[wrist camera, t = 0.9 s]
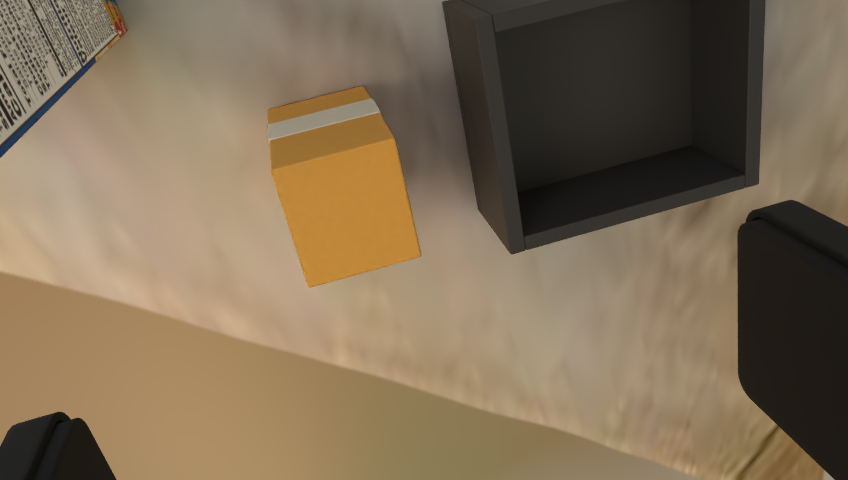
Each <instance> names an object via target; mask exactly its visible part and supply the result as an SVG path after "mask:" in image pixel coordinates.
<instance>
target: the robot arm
mask: <svg viewBox="0 0 848 480" xmlns="http://www.w3.org/2000/svg"><path fill="white" fill-rule="evenodd" d="M738 375H739V380H740V383H741V385H742V388H743V390H744V391H745V393H746V394H747V396H748V397H749V398H750V399H751V400H752V401H753V402H754V403H755V404H756V405H757V406H758V407H759V408H760V409H761V410H763V411H764V412H765V413H766V414H767V415H768V416H769V417H770V418H771V419H772V420H773V421H774V422H775V423H776V424H777V425H778V426H779V427H780V428H781V429H782V430H783V431H784V432H785V433H787V434H788V435H789V436H790V437H791V438H792V439H793V440H794V441H795V442H796V443H797V444H798V445H799V446H800V447H801V448H802V449H803V450H804V451H805V452H806V453H807V454H808V455H810V456H811V457H812V458H813V459H814V460H815V461H816V462H817V463H818V464H819V465H820V466H821V467H822V468H823V469H824V470H825V471H826V472H827V473H828V474H829V475H830V476H832V477H833V478H834V479H835V480H848V227H847V226H845V225H843V224H841V223H839V222H837V221H835V220H833V219H831V218H829V217H827V216H825V215H823V214H821V213H819V212H817V211H815V210H813V209H811V208H809V207H807V206H805V205H803V204H801V203H799V202H797V201H794V200H788V201H784V202H781V203H777V204H774V205H770V206H767V207H763V208H760V209H756V210H753V211H752V212H750V213H749V214H748V217H747V219H746V223H744V224H742V225H741V226H740V228H739V230H738ZM0 480H116V478H115V476H114V474H113V473H112V470H111V469H110V467H109V465H108V463H107V461H106V459H105V457H104V456H103V454H102V452H101V450H100V448H99V447H98V444H97V443H96V441H95V439H94V437H93V435H92V433H91V431H90V430H89V428H88V426H87V424H86V423H85V422H84V421H83V420H82V419H81V418H75V419H72V420H71V419H70V418H69V417H68V416H67V415H66V414H65V413H63V412H56V413H53V414H50V415H46V416H42V417H39V418H35V419H32V420H28V421H25V422H22V423H18V424H16V425H13V426H12V427H11V428H10V429H9V431H8V432H7V434H6V436H5V438H4V440H3V442H2V444H1V446H0Z"/></svg>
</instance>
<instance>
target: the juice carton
mask: <svg viewBox="0 0 848 480" xmlns="http://www.w3.org/2000/svg"><path fill="white" fill-rule="evenodd" d="M267 133H268V143H269V146H270V160H271V173H272V176H273V179H274V182H275V185H276V188H277V191H278V194H279V198H280V201H281V204H282V207H283V210H284V213H285V216H286V219H287V222H288V226H289V229H290V232H291V235H292V238H293V241H294V244H295V247H296V250H297V254H298V257H299V260H300V263H301V266H302V269H303V272H304V275H305V278H306V282H307V285H308V287H314V286H317V285H321V284H325V283H328V282H332V281H335V280H339V279H342V278H346V277H350V276H353V275H357V274H360V273H364V272H367V271H371V270H374V269H378V268H382V267H385V266H389V265H392V264H396V263H399V262H403V261H407V260H410V259H414V258H417V257H420V256H421V251H420V246H419V242H418V238H417V233H416V229H415V224H414V220H413V215H412V211H411V206H410V202H409V198H408V193H407V189H406V184H405V180H404V175H403V171H402V166H401V162H400V158H399V153H398V149H397V144H396V140H395V138H394V136H393V134H392V133H391V131H390V129H389V128H388V126H387V124H386V123H385V121H384V119H383V118H382V114H381V111H380V110H379V108H378V106H377V105H376V103H375V101H374V100H373V98H371V97H370V96H369V94H368V92H367V90H366V89H365V87H364V86H360V87H356V88H352V89H348V90H344V91H340V92H336V93H332V94H328V95H324V96H320V97H316V98H312V99H308V100H304V101H300V102H296V103H292V104H288V105H284V106H280V107H277V108H273V109H269V110H268V125H267Z"/></svg>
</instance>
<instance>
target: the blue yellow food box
mask: <svg viewBox="0 0 848 480" xmlns="http://www.w3.org/2000/svg"><path fill="white" fill-rule="evenodd" d="M127 30H128V28H127V26H126V24H125V22H124V19H123V17H122V15H121V13H120V10H119V8H118V6H117V4H116V1H115V0H0V158H1V157H2V156H3V155H4V154H5V153H6V152H7V151H8V150H9V149H10V148H11V147H12V146H13V145H14V144H15V143H16V142H17V141H18V140H19V139H20V138H21V137H22V136H23V135H24V134H25V133H26V132H27V131H28V130H29V129H30V128H31V127H32V126H33V125H34V124H35V123H36V122H37V121H38V120H39V119H40V118H41V117H42V116H43V115H44V114H45V113H46V112H47V111H48V110H49V109H50V108H51V107H52V106H53V105H54V104H55V103H56V102H57V101H58V100H59V99H60V98H61V97H62V96H63V95H64V94H65V93H66V92H67V91H68V90H69V89H70V88H71V87H72V86H73V85H74V84H75V83H76V82H77V81H78V80H79V79H80V78H81V77H82V76H83V75H84V74H85V73H86V72H87V71H88V70H89V69H90V68H91V67H92V66H93V65H94V64H95V63H96V61H97V60H98V59H99V58H100V57H101V56H102V55H103V54H104V53H105V52H106V51H107V50H108V49H109V48H110V47H111V46H112V45H113V44H114V43H115V42H116V41H117V40H118V39H119V38H120V37H121V36H122V35H123V34H124V33H125V32H126V31H127Z"/></svg>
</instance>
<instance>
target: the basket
mask: <svg viewBox="0 0 848 480" xmlns="http://www.w3.org/2000/svg"><path fill="white" fill-rule="evenodd" d="M442 4H443V10H444V16H445V22H446V27H447V33H448V39H449V45H450V50H451V56H452V62H453V67H454V73H455V79H456V85H457V90H458V96H459V102H460V108H461V113H462V119H463V125H464V130H465V136H466V142H467V148H468V153H469V159H470V165H471V171H472V176H473V182H474V188H475V194H476V199H477V205H478V210H479V211H480V213H481V214H482V215H483V217H484V218H485V219H486V221H487V222H488V223H489V225H490V226H491V228H492V229H493V230H494V232H495V233H496V234H497V236H498V237H499V239H500V240H501V241H502V243H503V244H504V245H505V247H506V248H507V250H508V251H509V252H510V254H515V253H519V252H522V251H525V249H526V250H528V249H532V248H536V247H539V246H543V245H546V244H550V243H553V242H557V241H560V240H564V239H567V238H571V237H574V236H578V235H581V234H585V233H588V232H592V231H595V230H599V229H602V228H606V227H609V226H613V225H616V224H620V223H623V222H627V221H631V220H634V219H638V218H641V217H645V216H648V215H652V214H655V213H659V212H662V211H666V210H669V209H673V208H676V207H680V206H683V205H687V204H690V203H694V202H697V201H701V200H704V199H708V198H711V197H715V196H718V195H722V194H725V193H729V192H733V191H736V190H740V189H743V188H744V187H745V188H747V187H750V186H754V185H757V184H759V163H760V135H761V108H762V80H763V53H764V25H765V0H448V1H444V2H442Z"/></svg>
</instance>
